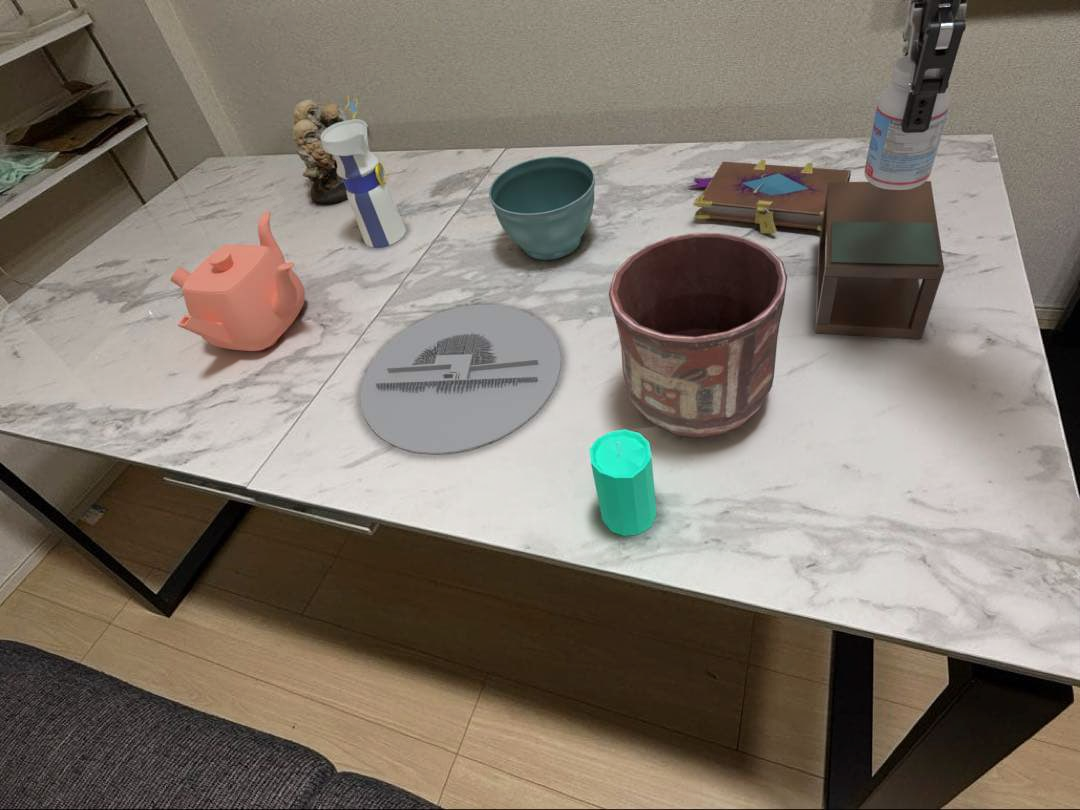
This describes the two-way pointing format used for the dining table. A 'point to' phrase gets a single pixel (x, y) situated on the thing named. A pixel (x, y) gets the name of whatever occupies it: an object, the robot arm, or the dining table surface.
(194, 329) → the teapot
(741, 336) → the pottery
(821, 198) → the book
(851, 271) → the stand
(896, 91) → the pill bottle
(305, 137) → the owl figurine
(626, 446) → the candle
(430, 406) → the plate
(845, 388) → the dining table surface
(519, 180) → the flower pot
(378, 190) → the water bottle
